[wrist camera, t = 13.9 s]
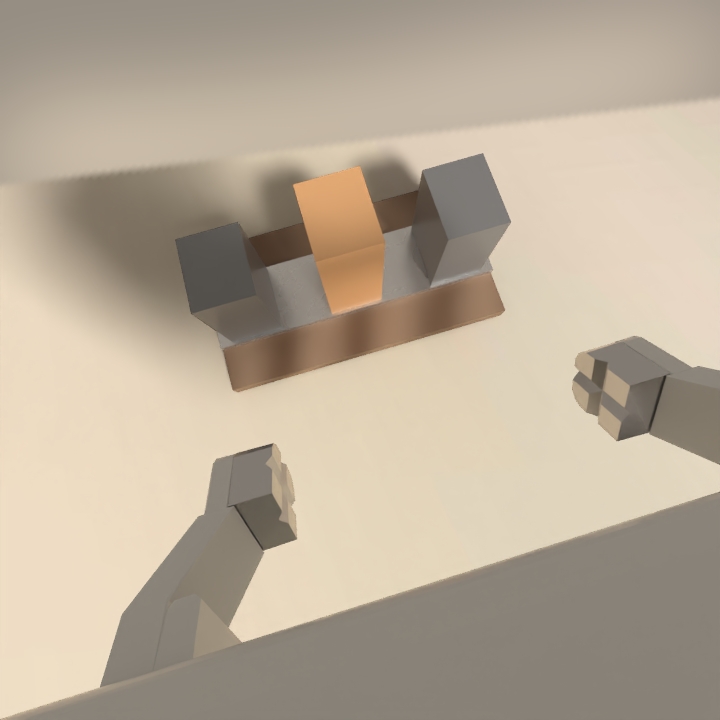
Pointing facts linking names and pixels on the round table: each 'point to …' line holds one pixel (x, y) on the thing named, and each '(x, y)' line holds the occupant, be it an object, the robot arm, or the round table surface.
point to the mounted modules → (430, 228)
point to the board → (362, 327)
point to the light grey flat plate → (308, 298)
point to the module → (343, 237)
